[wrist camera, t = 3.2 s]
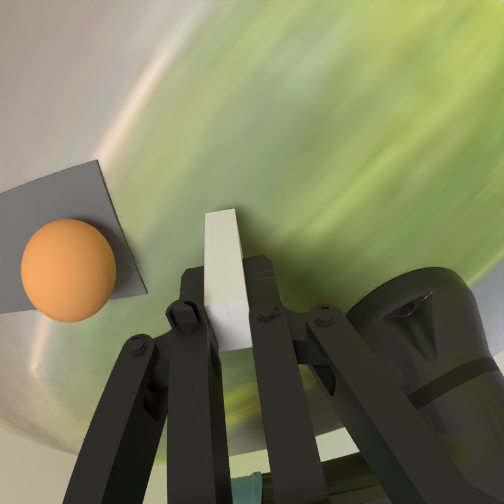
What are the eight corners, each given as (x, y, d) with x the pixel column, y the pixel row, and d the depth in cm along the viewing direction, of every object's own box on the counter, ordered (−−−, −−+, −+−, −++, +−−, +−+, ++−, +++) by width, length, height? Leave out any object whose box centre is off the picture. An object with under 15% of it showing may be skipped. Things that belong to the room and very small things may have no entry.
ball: (129, 210, 18) (102, 274, 13) (122, 284, 21) (104, 352, 16) (42, 194, 16) (-5, 249, 12) (47, 268, 20) (15, 329, 15)
